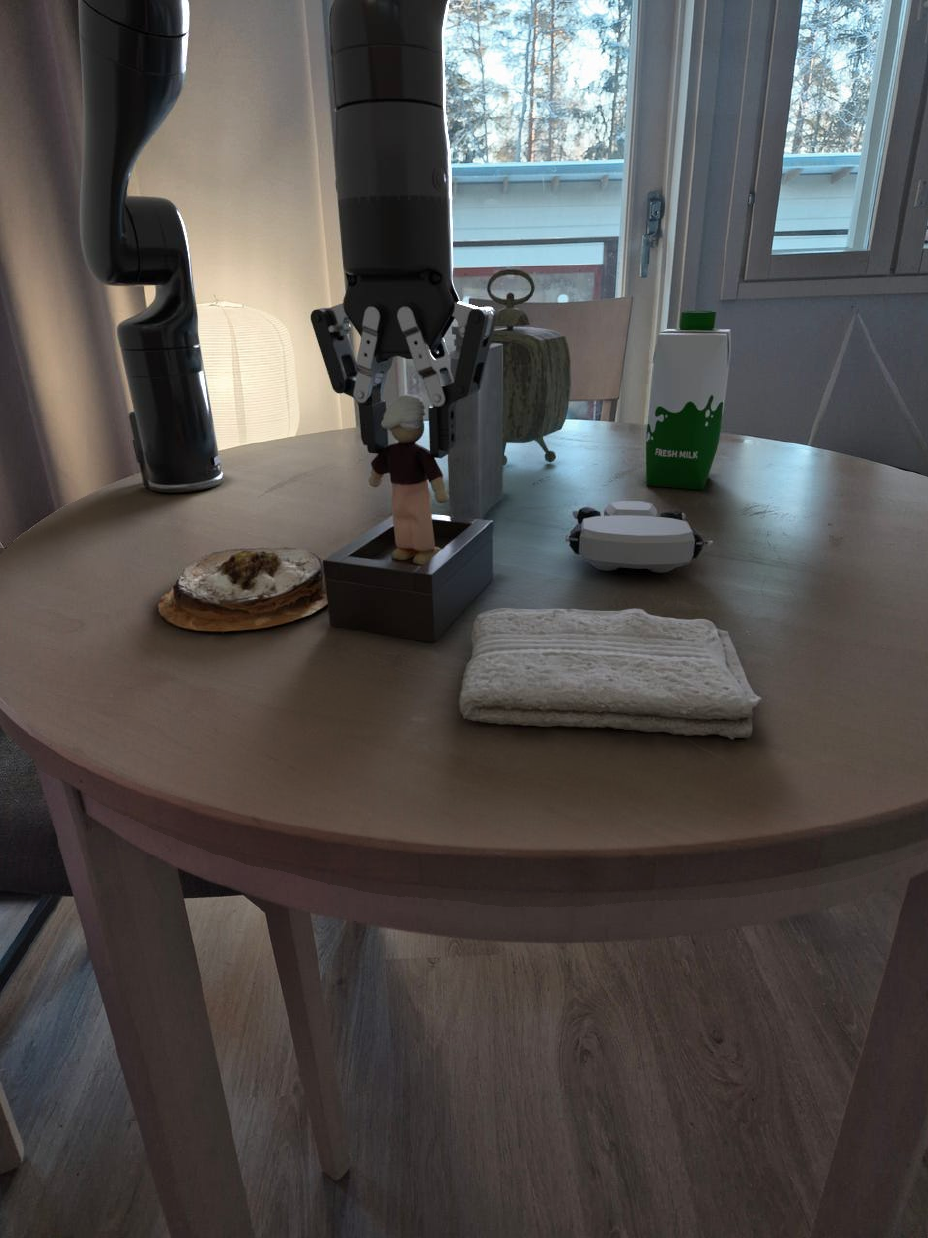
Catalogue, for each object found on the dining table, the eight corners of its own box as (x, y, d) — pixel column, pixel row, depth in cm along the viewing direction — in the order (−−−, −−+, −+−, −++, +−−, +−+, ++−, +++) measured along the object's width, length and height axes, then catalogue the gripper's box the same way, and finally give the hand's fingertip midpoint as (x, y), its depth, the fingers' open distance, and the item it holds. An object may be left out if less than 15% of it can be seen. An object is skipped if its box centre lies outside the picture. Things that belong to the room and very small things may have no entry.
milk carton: (716, 475, 94) (738, 310, 86) (710, 493, 87) (734, 314, 78) (648, 470, 97) (663, 310, 89) (637, 487, 90) (652, 314, 81)
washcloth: (765, 745, 41) (774, 699, 40) (454, 731, 43) (453, 687, 41) (720, 647, 52) (726, 608, 50) (473, 639, 53) (472, 602, 52)
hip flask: (476, 537, 74) (473, 329, 65) (438, 535, 75) (430, 329, 66) (504, 495, 88) (505, 318, 79) (472, 493, 89) (469, 319, 80)
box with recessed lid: (329, 625, 56) (322, 560, 54) (402, 567, 67) (399, 510, 65) (434, 643, 53) (431, 574, 51) (493, 579, 64) (493, 520, 61)
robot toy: (567, 537, 76) (563, 582, 62) (569, 495, 74) (565, 531, 61) (686, 541, 74) (709, 588, 60) (691, 497, 72) (715, 536, 59)
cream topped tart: (210, 560, 69) (203, 519, 68) (359, 566, 67) (356, 524, 65) (123, 628, 56) (111, 579, 54) (305, 638, 54) (299, 587, 52)
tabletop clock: (567, 461, 103) (575, 267, 92) (538, 476, 96) (543, 268, 85) (481, 451, 110) (479, 269, 99) (448, 463, 103) (442, 270, 92)
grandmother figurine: (465, 554, 58) (462, 393, 53) (444, 570, 55) (438, 401, 50) (384, 542, 61) (373, 388, 56) (360, 557, 58) (345, 396, 53)
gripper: (515, 193, 48) (512, 449, 55) (330, 204, 53) (351, 438, 60) (475, 183, 42) (478, 472, 49) (270, 196, 47) (301, 458, 54)
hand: (408, 452), depth 55 cm, fingers closed on grandmother figurine, 4 cm apart
